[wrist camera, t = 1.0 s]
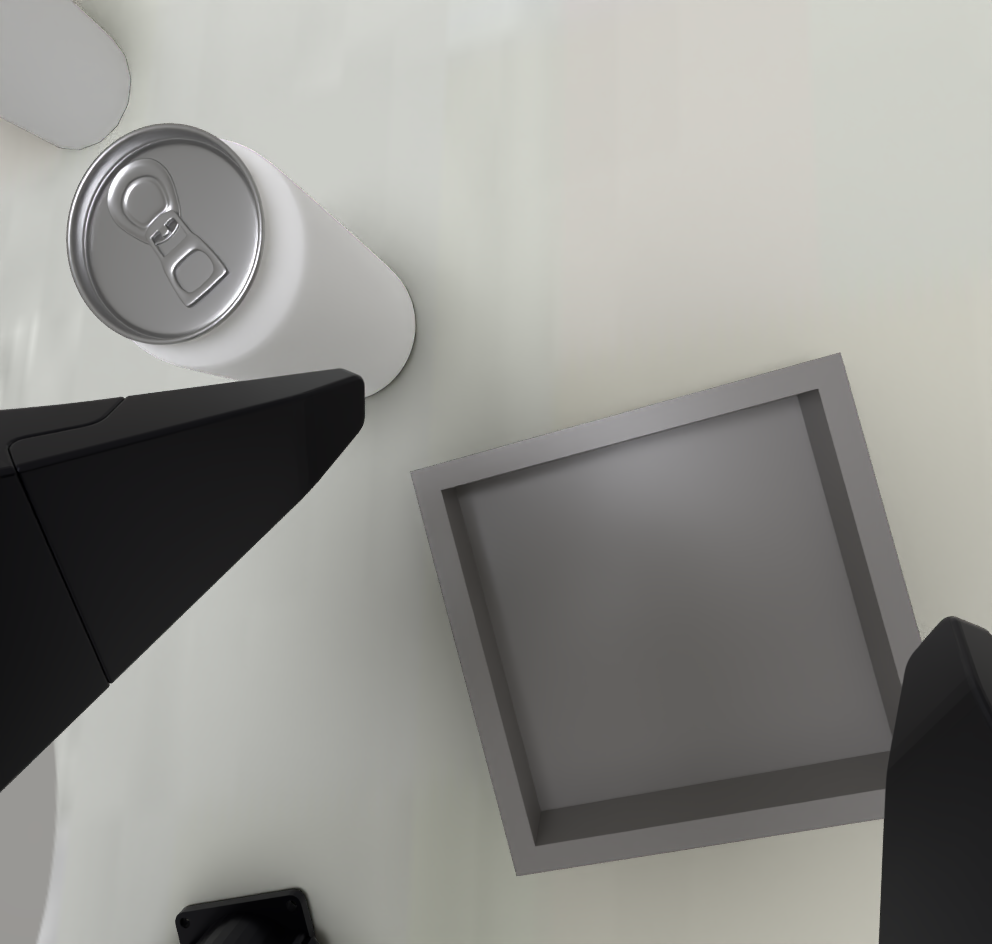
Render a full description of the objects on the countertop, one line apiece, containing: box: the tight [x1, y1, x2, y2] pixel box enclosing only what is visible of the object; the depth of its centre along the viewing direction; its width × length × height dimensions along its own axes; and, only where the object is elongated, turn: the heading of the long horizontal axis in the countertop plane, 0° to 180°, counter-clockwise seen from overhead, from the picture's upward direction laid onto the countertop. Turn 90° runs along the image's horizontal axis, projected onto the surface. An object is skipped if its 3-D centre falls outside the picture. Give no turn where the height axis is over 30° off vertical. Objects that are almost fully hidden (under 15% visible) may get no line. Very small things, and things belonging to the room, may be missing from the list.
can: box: [66, 123, 415, 397], centre depth 22 cm, size 6×6×12 cm
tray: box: [410, 353, 922, 876], centre depth 24 cm, size 16×16×3 cm
